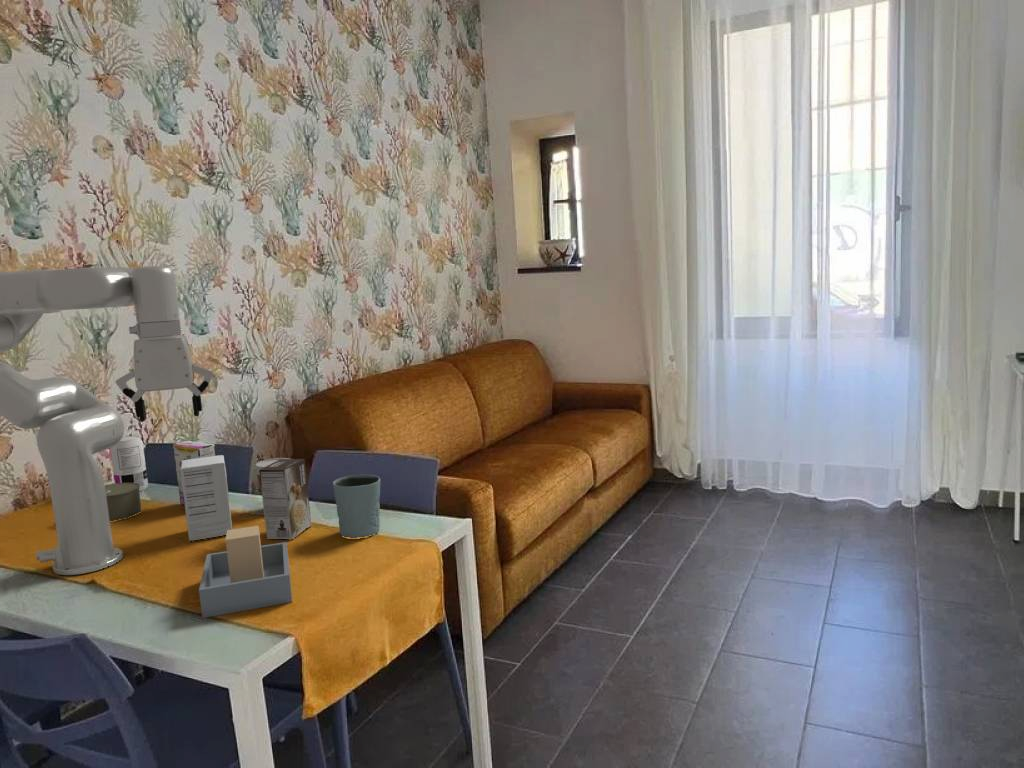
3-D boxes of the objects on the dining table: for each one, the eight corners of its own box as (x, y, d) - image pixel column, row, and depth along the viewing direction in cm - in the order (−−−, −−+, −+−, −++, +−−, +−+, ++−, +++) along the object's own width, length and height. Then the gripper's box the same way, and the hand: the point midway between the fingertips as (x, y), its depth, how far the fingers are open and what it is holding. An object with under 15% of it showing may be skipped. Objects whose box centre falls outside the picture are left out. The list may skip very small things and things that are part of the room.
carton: (231, 593, 131) (225, 539, 129) (233, 581, 136) (227, 530, 134) (264, 587, 132) (258, 534, 131) (264, 576, 138) (258, 525, 136)
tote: (202, 618, 124) (198, 590, 123) (209, 579, 140) (206, 554, 140) (292, 601, 128) (289, 574, 128) (289, 566, 145) (286, 541, 144)
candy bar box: (179, 505, 190) (171, 444, 187) (196, 500, 194) (189, 439, 191) (205, 511, 184) (198, 447, 181) (223, 505, 188) (215, 443, 185)
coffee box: (286, 526, 169) (279, 458, 167) (312, 526, 168) (305, 458, 165) (265, 540, 160) (258, 469, 158) (292, 541, 159) (285, 469, 157)
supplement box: (233, 535, 165) (225, 462, 162) (188, 543, 161) (179, 468, 159) (231, 523, 173) (224, 453, 171) (189, 530, 170) (180, 459, 167)
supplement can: (109, 494, 204) (102, 442, 201) (129, 486, 212) (122, 435, 210) (135, 494, 202) (128, 441, 200) (154, 486, 210) (148, 435, 208)
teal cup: (328, 534, 162) (323, 482, 160) (366, 521, 169) (362, 471, 167) (355, 544, 155) (350, 489, 153) (393, 530, 162) (389, 478, 160)
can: (151, 513, 185) (147, 486, 184) (100, 526, 176) (96, 499, 175) (130, 505, 193) (127, 479, 192) (81, 518, 184) (77, 491, 183)
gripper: (105, 335, 135) (117, 426, 138) (206, 328, 141) (216, 416, 143) (113, 333, 142) (125, 419, 145) (209, 326, 148) (218, 410, 150)
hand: (170, 417), depth 144 cm, fingers open, 9 cm apart
